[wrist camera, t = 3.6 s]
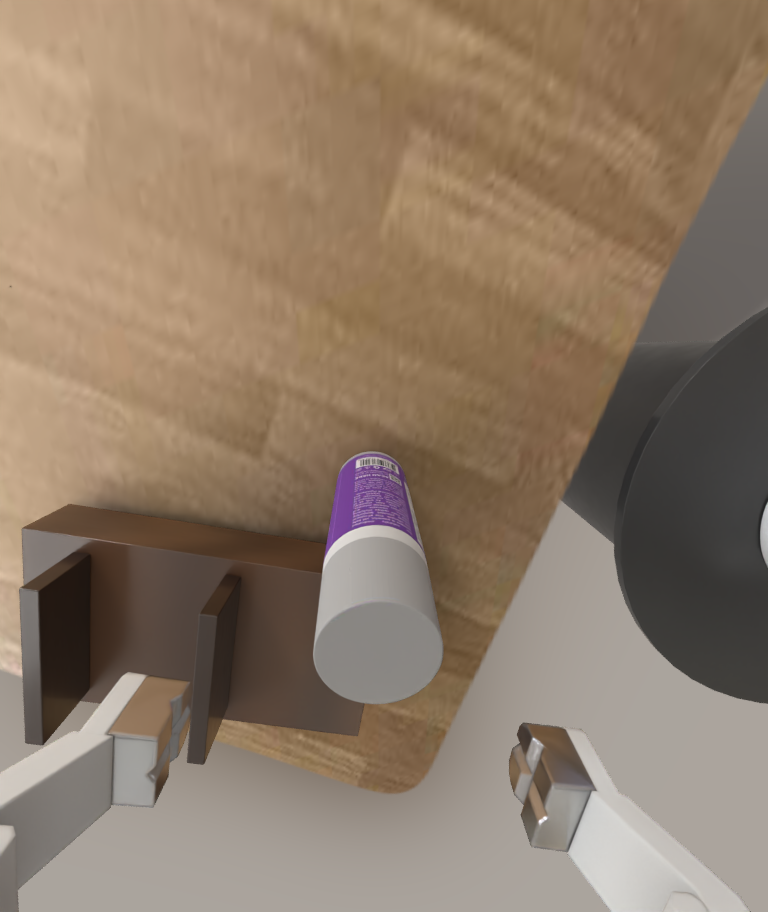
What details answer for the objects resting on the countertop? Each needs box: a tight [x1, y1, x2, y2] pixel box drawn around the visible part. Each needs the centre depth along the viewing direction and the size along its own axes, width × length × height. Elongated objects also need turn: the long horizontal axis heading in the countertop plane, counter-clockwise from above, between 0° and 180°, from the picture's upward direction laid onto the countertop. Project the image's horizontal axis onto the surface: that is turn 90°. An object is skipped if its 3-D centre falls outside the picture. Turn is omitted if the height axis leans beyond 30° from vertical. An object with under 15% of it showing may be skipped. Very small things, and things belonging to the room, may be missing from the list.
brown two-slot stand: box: [19, 504, 364, 765], centre depth 27 cm, size 22×12×8 cm, turn 80°
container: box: [313, 451, 443, 704], centre depth 21 cm, size 5×5×15 cm
